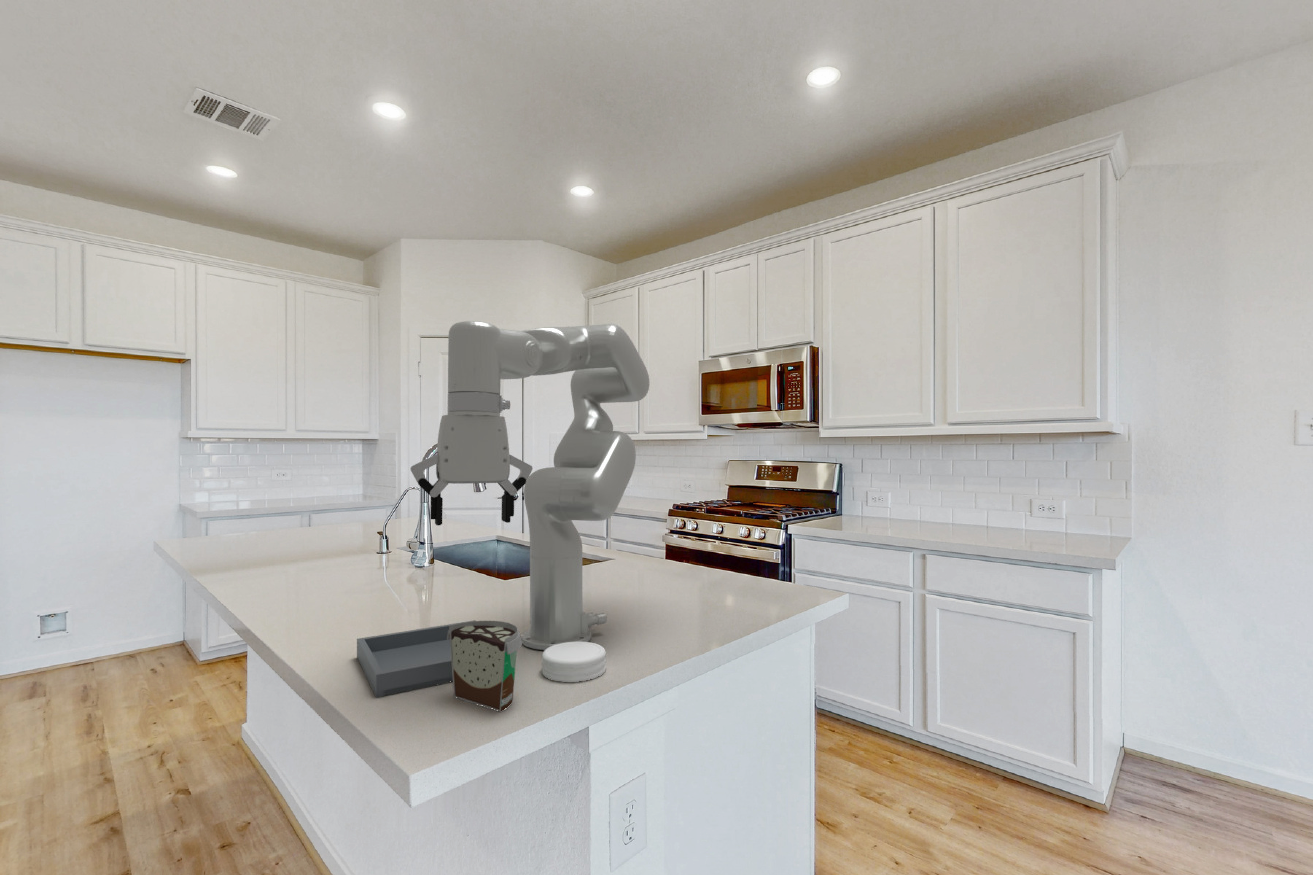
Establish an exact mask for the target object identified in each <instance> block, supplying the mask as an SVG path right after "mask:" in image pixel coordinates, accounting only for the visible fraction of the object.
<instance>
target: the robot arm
mask: <svg viewBox="0 0 1313 875" xmlns="http://www.w3.org/2000/svg"><path fill="white" fill-rule="evenodd" d="M447 339H448V341H447V342H448V344H447V345H448V347H447V348H448V349H447V414H445V415H444V414H443V415H441V419H440V422H439V429H438V434H437V445H436V446H437V448H436V454H435V455H432V456H430V457H427V458H426V459H424V460H422V461H420V462H417V463H415V464H413V465H412V466H410V472H411V473H412V476H413V477H414V479H415V481H416V483H417V484H418V486H419V487H420V488H421V489H422V490H423V491H424V492H425V493H427V494H428V495H429V496H430V510H429V511H430V520H434V524H435V525H436V526H442V525H443V497H441V496H442V494H441V493H442V492H443V491H444V490H445V488H446V487H447V486H448V485H449V484H461V485H463V484H496V483H497V484H498V486H500V488H501V489H502V490H503V494H502V495H501V521H502V522H504V523H511V517H514V516H515V496H516V495H517V493H518V492H519V491H520V490H521V489H522V487H524V488H523V497H524V498H523V499H524V506H525V510H526V515H527V520H528V528H529V529H528V530H529V531H528V533H529V618H530V619H529V629H527V630H525V631H524V632H523V633H522V634H521V635H520V636H521V641H522V645H524V646H525V647H527V648H530V649H534V650H541V651H545V650H546V649H547V648H549V647H551V646H553V645H556V644H560V643H566V642H590V640H592V639H591V638H592V631H591V629H590V628H592V626H593V625H594V626H595V625H597V626H598V625H603V624H606V623H607V622H608V619H607V615H606V613H605V612H603V613H595V614H594V612H588V613H587V612H584V611H583V603H584V602H583V542H582V538H581V536H580V533H579V531H578V529H577V528H576V525H575V524H574V523H573V521H588V522H600V521H605V520H606V521H607V520H608V519H610V517H612V516H614V514H615V512H616V511H617V508H618V506H619V504H620V502H621V500H622V498H623V496H624V493H625V491H626V489H627V487H628V485H629V483H630V481H631V478H632V475H633V473H634V470H635V466H636V461H637V460H636V459H637V454H636V451H637V450H636V446H635V442H634V440H633V439H632V437H630V436H629V435H628V434H627V433H625V432H623V431H619V430H614V425H613V422H612V420H611V418H610V416H609V415H608V413H607V412H606V411H605V410H604V409H603V408H602V406H601V404H607V403H608V404H610V403H611V404H612V403H613V404H614V403H633V402H635V403H636V402H639V401H641V400H643V399H645V397H646V396H647V394H648V393H649V391H650V378H649V377H650V376H649V372H648V370H647V367H646V365H645V363H644V361H643V359H642V357H641V355H640V354H639V352H638V349H637V348H636V346H635V344H634V342H633V340H632V339H631V338H630V336H629V334H627V332H626V331H625V330H624V329H623V328H622V327H621V326H619V325H618V324H614V323H606V324H605V323H603V324H593V325H577V326H557V327H556V326H547V327H546V326H545V327H536V328H530V329H525V330H515V329H513V330H512V329H504V328H499V327H497V326H496V325H494V324H492V323H488V322H484V321H482V322H481V321H473V320H472V321H470V320H466V321H460V322H459V321H458V322H455V323H454V324H452V326H450V328H449V331H448V337H447ZM568 372H573V374H571V375H572V376H571V378H570V395H571V400H572V401H571V402H572V406H573V415H574V417H573V420H572V421H571V424H570V425H569V427H568V429H567V430H566V432H565V433H564V435H563V437H562V438H561V440H560V442H559V444H558V445H557V447H556V448H555V452H554V455H553V466H554V467H553V466H552V467H549V466H548V467H545V468H540V469H536V470H535V471H533V466H532V465H531V464H530V463H527V462H525V461H523V460H521V459H519V458H518V457H515V456H514V455H511V454H510V447H509V446H510V444H509V436H508V435H509V434H508V428H507V422H506V417H505V416H501V413H502V412H503V411H505V410H510V409H511V400H505V399H504V398H503V397H502V394H501V386H502V385H501V383H502V382H501V380H519V379H525V378H528V377H534V376H538V377H539V376H549V375H558V374H563V373H568ZM433 466H435V474H436V479H437V480H436V481H435V483H434V484H432V483H431V482H430V481H428V480H427V478H426V477H425V474H424V471H425V470H427V469H428V468H431V467H433ZM510 466H512V467H514V468H516V469H518V470H519V475H518V476H517V478H515V480H514V481H512V482H511V481H510V480H509V477H510V472H511V471H510V470H511V469H510V468H511V467H510ZM532 471H533V472H532Z"/></svg>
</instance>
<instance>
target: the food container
mask: <svg viewBox="0 0 1313 875" xmlns="http://www.w3.org/2000/svg"><path fill="white" fill-rule="evenodd" d="M471 621H472V622H468V621H463V622H464V623H461V622H458V623H459V624H455V623H453V624H454V625H451V626H449V630H448V635H447V640H449V639H450V648H451V662H452V677H453V682H452V690H453V691H452V692H453V698H454V697H457V698H459V699H458V700H460V699H461V700H460V701H463V700H465V701H464V702H466V701H468V702H467V703H470V704H473V703H475V704H474V705H476V704H478V705H477V706H479V705H483V706H485V707H488V708H487V709H489V708H493V709H495V710H498V711H502V710H504V709H505V708H507V707H508V706H509V705H510V704H511V703H513V700H514V690H515V688H514V687H515V675H516V664H517V652H518V650H520V648H521V647H522V645H523V644H522V641H521V636H522V635H521V633H520V631H519V629H518V628H519V627H518V626H516V625H515V624H514V623H510V622H508V621H503V620H502V621H501V620H475V621H474V620H471ZM457 698H456V699H457ZM511 705H512V704H511ZM511 705H510V706H511ZM510 706H509V707H510ZM485 707H484V708H485ZM509 707H508V708H509ZM508 708H507V709H508ZM495 710H494V711H495ZM498 711H497V712H498ZM504 711H505V710H504ZM502 712H503V711H502Z"/></svg>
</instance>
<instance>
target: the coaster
mask: <svg viewBox="0 0 1313 875" xmlns="http://www.w3.org/2000/svg"><path fill="white" fill-rule="evenodd" d="M606 654H607V652H606V649H605V648H604V647H603V646H602V645H600V644H598V643H595V642H590V641H589V642H566V643H560V644H556V645H553V646H551V647H549V648H547V649H546V650H543V652H542V654H541V658H542V662H541V666H542V668H541V673H542V676H544V677H545V678H546V679H547V678H548V679H547V680H550V679H552V680H555V681H554V682H556V681H563V682H562V683H564V682H575V683H580V682H579V681H583V682H587V681H586V680H588V681H591V680H590V679H592V680H595V679H597V678H598V676H599V677H600V676H602V675H603V674H604V673H605V671H606V668H607V664H606V662H607V658H606ZM552 680H551V681H552Z"/></svg>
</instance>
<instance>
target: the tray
mask: <svg viewBox="0 0 1313 875" xmlns="http://www.w3.org/2000/svg"><path fill="white" fill-rule="evenodd" d="M472 621H476V620H469V621H467V622H472ZM464 622H465V621H462V622H456V623H450V624H449V623H448V624H443V625H442V624H441V625H436V626H429V627H424V628H417V629H412V630H411V629H410V630H404V631H398V632H392V633H386V634H378V635H374V636H367V637H359V638H356V659H357V661H358V663H359V666H360V667H361V669H362V671H363V673H364V675H365V678H366V679H367V681H368V683H369V685H370V688H371V690H372V691H373V694H374V696H375V698H380V697H386V696H390V695H395V694H400V693H405V692H410V691H415V690H419V689H424V688H423V687H425V688H430V687H434V685H435V686H438V685H437V684H440V685H444V684H443V683H445V684H447V683H446V682H449V683H451V682H450V681H453V677H452V662H451V648H450V639H449V640H447V635H448V630H449V626H451V625H454V624H459V623H464Z"/></svg>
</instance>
